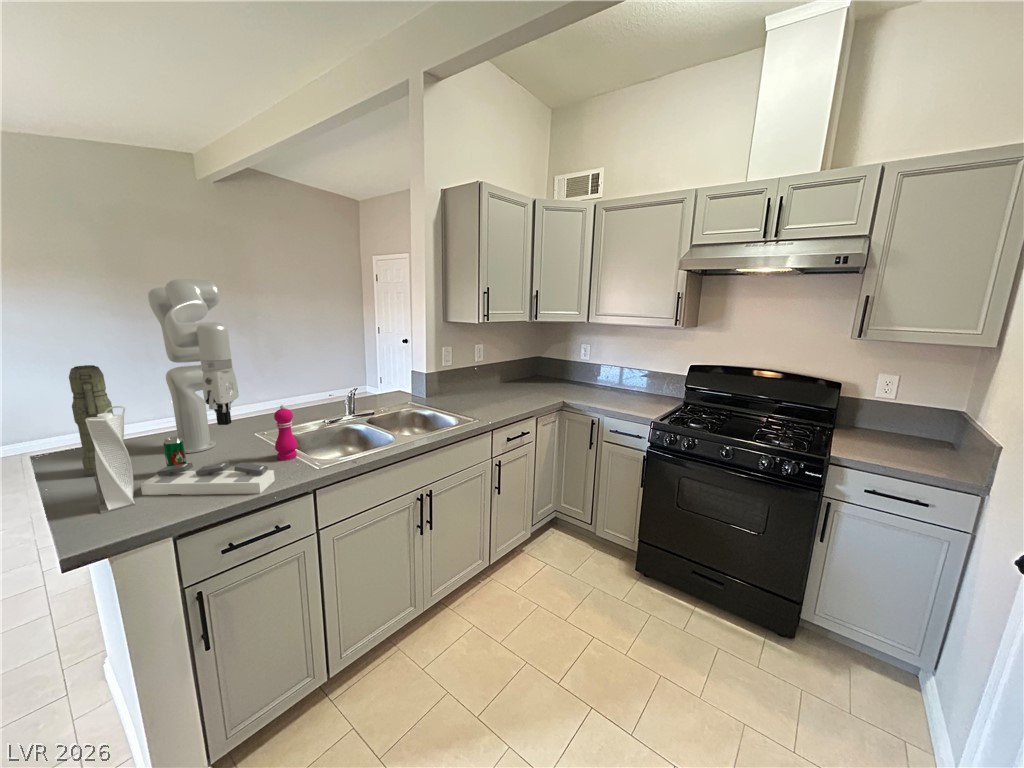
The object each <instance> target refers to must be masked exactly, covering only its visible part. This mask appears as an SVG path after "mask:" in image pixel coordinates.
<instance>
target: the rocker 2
mask: <svg viewBox="0 0 1024 768" xmlns="http://www.w3.org/2000/svg"><path fill="white" fill-rule="evenodd" d="M267 470H269V466H268V465H263V464H255V463H250V462H249V463H248V462H240V463H237V465H236V466H234V469H233V471H237V472H244V473H246V474H247V475H249V474H250V473H251V474H257V475H262V474H264V473H265V472H266V471H267Z"/></svg>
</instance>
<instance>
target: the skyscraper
mask: <svg viewBox="0 0 1024 768" xmlns="http://www.w3.org/2000/svg"><path fill="white" fill-rule="evenodd" d="M119 408H120V409H122V414H113V415H112V413H107V411H108V410H110V409H112V410H113V409H119ZM125 413H126V407H125V406H122V405H116V406H115V405H112V407H110V408H108V409H106V411H105V412H104V413H102V414H98V415H97V416H98V417H90V418H86V419H85V421H86V424H87V427H88V430H89V433H90V436H91V438H92V441H93V443H94V446H95V462H94V464H95V468H94V470H95V474H96V476H94V477H93V479H94V482H95V485H96V487H95V488H96V492H95V493H96V495H97V501H98V502H97V505H98V509H99V514H100V515H102V514H105V513H109V511H110V512H114V511H117V510H121V509H124V508H129V507H131V506H136V505H135V504H136V501H135V499H134V472H133V466H132V461H131V457H130V454H129V451H128V449H127V447H126V445H125V443H124V439H125V438H124V437H125V435H124V434H125ZM128 506H129V507H128ZM113 510H114V511H113Z"/></svg>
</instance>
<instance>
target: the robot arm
mask: <svg viewBox="0 0 1024 768" xmlns="http://www.w3.org/2000/svg"><path fill="white" fill-rule="evenodd" d="M147 299H148V303H149V306H150V308H151V311H152V312H153V315H154V317H156V319H157V320H158V322H159V324H160V327H161V333H162V336H163V337H162V338H163V342H164V347H165V352H166V356H167V358H168V360H169V361H171V362H172V363H178V364H179V363H194V362H195V363H196V362H197V363H198V362H200V364H198V365H196V364H195V365H183V366H177V367H173V368H170V369H169V370H168V371H167V372H166V374H165V381H166V384H167V387H168V390H169V393H170V396H171V401H172V407H173V412H174V413H173V414H174V419H175V425H176V426H175V427H176V433H177V434H176V435H177V436H180V437H181V438H182V439H183V441H184V448H185V454H192V453H198V452H204V451H206V450H210V449H212V448H213V447H215V446H216V445H217V444H216V443H217V442H216V441H215V440H214V439H211V437H210V436H211V435H210V428H209V427H210V426H209V420H208V414H207V413H208V411H207V405H208V409H209V410H213V411H214V413H215V415H216V423H217V425H218V426H228V425H230V424H232V417H231V410H232V407H231V405H232V404H233V403H234V402H235V400H237V399H238V398H239V396H240V394H239V388H238V382H237V377H236V374H235V371H234V369H233V368H234V367H233V362H232V354H231V353H232V352H231V344H230V338H229V337H230V335H229V329H228V326H226V325H225V324H222V323H221V322H214V321H213V322H212V321H211V322H209V321H207V322H205V321H204V322H202V321H201V320H203V319H204V318H205V317H206V316H207V314H208V311H211V310H212V309H213V308H215V307H216V306H217V305H218V304H219V302H220V299H221V293H220V290H219V288H218V286H217V285H216V284H215V283H214V282H213V281H211V280H207V279H188V278H187V279H183V278H175V279H172V280H169V281H167V283H166V284H165V286H162V287H155V288H152V289H150V290H149V291H148V294H147ZM199 321H201V322H199ZM198 391H199V392H200V391H202V392H203V397H201V396H200V395H199V394H197V393H196V392H198Z"/></svg>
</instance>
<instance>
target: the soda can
mask: <svg viewBox="0 0 1024 768" xmlns="http://www.w3.org/2000/svg"><path fill="white" fill-rule="evenodd" d="M162 444H163V449H164V450H163V451H164V456H165V464H166V467H168V466H175V465H181V464H187V456H186V453H185V448H184V441H183V439H182V438H181V437H180V436H178V435H177V436H169V437H167V438H165V439H164V441H163V443H162Z"/></svg>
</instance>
